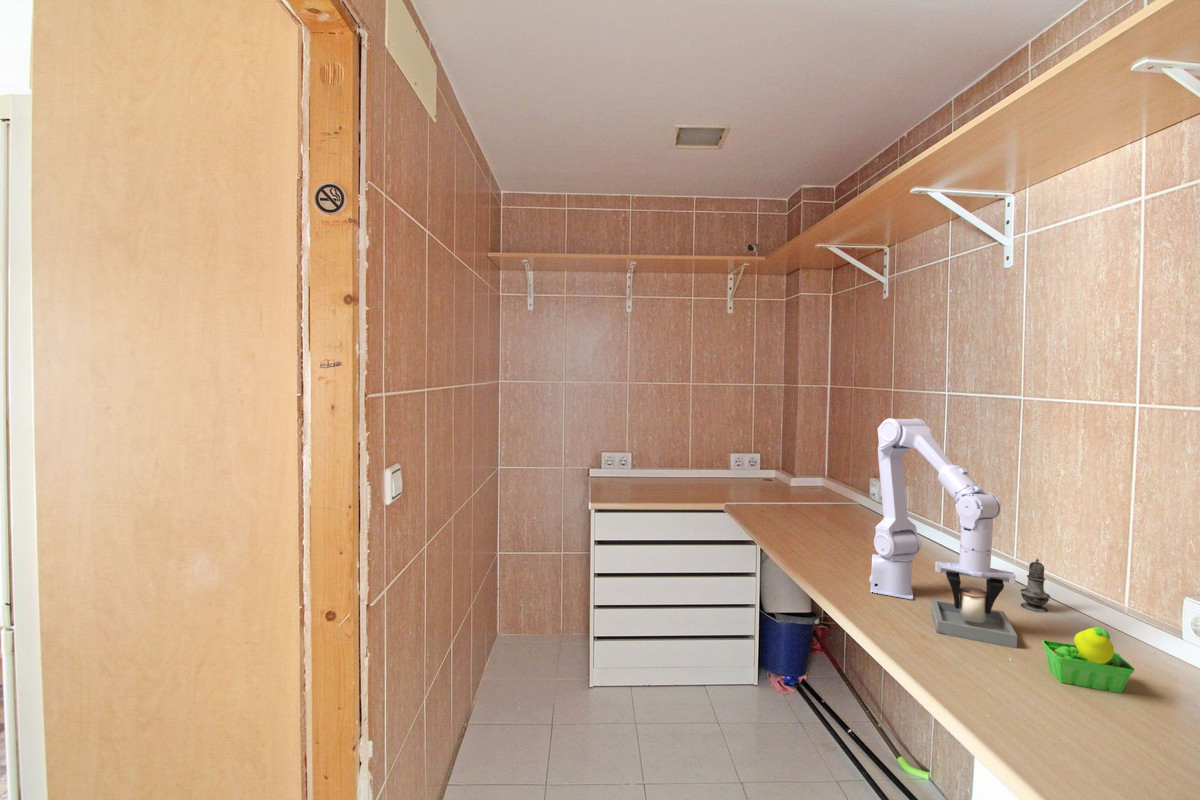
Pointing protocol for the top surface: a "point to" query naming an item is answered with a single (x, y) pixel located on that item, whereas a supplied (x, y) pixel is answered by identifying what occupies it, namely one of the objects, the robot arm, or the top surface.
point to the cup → (972, 604)
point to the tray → (973, 625)
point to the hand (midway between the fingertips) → (971, 609)
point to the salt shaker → (1035, 589)
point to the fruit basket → (1088, 661)
